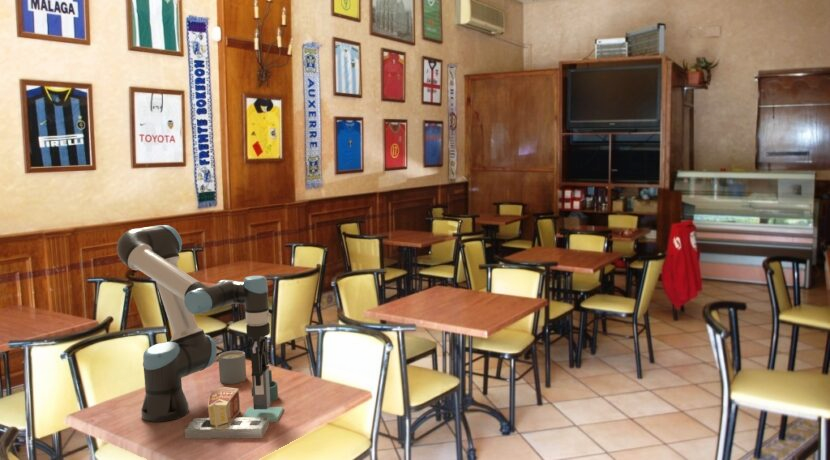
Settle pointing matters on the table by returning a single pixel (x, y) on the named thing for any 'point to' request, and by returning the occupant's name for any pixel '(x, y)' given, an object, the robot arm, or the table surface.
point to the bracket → (271, 388)
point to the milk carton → (223, 405)
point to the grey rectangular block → (264, 399)
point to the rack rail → (227, 428)
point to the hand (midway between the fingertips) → (261, 391)
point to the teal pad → (265, 413)
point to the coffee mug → (232, 367)
